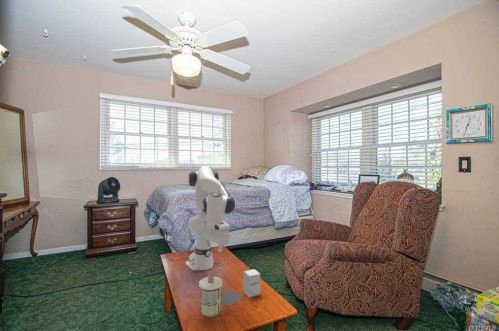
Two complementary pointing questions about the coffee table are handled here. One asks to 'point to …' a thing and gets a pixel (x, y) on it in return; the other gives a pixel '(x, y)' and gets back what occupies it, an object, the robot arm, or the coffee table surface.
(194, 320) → the coffee table surface
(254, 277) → the supplement box
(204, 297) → the coffee can
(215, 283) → the lid
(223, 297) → the mat
